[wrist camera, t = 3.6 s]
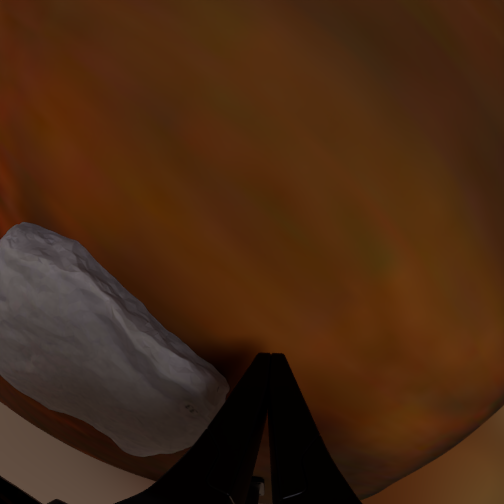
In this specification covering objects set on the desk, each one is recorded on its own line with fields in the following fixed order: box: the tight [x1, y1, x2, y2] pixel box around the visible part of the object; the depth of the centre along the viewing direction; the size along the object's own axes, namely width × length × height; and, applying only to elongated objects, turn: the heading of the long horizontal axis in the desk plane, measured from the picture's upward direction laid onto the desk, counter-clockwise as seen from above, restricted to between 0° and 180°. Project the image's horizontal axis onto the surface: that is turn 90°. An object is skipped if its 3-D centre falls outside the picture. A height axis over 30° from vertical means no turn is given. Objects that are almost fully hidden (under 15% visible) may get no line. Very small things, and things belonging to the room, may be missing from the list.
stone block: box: [0, 222, 230, 457], centre depth 11 cm, size 12×5×10 cm
